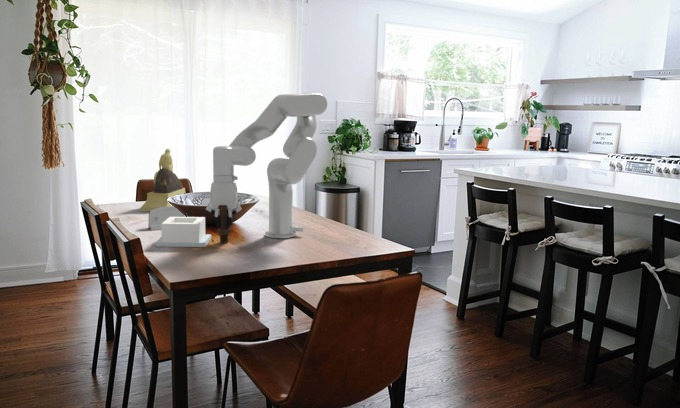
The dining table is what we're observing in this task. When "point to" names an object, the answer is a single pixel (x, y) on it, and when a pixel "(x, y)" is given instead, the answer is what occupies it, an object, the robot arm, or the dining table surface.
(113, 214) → the dining table surface
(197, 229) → the socket post
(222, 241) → the bolt
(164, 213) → the grey arched bracket
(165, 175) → the yellow and brown statue
